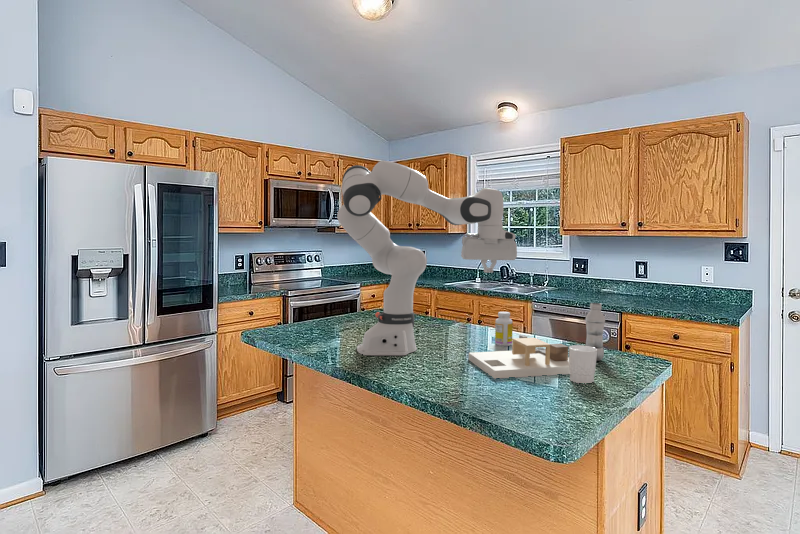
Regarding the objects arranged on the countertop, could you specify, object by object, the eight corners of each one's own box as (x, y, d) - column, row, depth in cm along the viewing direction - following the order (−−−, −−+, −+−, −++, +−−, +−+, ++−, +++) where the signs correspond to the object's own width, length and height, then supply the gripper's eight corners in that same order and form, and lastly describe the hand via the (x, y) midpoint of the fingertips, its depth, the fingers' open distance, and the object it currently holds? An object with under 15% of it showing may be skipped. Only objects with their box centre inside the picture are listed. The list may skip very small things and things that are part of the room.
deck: (494, 378, 145) (495, 349, 144) (468, 359, 166) (469, 334, 165) (585, 372, 151) (586, 345, 151) (549, 355, 173) (549, 330, 172)
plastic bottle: (603, 358, 169) (605, 302, 167) (604, 363, 162) (606, 305, 161) (583, 357, 171) (585, 301, 170) (584, 361, 165) (586, 304, 163)
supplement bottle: (511, 342, 192) (511, 311, 191) (513, 346, 186) (514, 314, 185) (494, 342, 193) (494, 310, 192) (495, 346, 186) (496, 313, 185)
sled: (539, 361, 154) (540, 344, 154) (518, 350, 168) (519, 335, 168) (567, 360, 156) (568, 343, 156) (544, 349, 171) (545, 334, 170)
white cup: (563, 377, 147) (564, 345, 146) (588, 376, 148) (589, 345, 147) (574, 385, 139) (576, 351, 138) (600, 384, 140) (602, 351, 139)
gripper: (465, 233, 166) (464, 272, 166) (519, 234, 170) (518, 273, 171) (459, 233, 172) (458, 271, 173) (511, 234, 176) (510, 272, 177)
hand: (488, 272), depth 172 cm, fingers closed
